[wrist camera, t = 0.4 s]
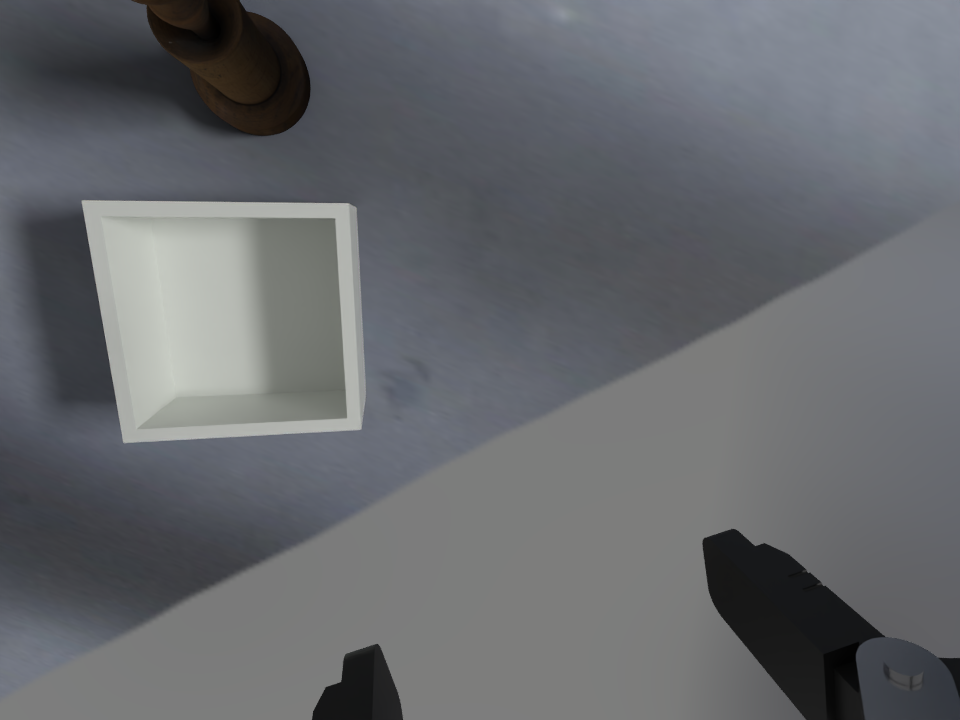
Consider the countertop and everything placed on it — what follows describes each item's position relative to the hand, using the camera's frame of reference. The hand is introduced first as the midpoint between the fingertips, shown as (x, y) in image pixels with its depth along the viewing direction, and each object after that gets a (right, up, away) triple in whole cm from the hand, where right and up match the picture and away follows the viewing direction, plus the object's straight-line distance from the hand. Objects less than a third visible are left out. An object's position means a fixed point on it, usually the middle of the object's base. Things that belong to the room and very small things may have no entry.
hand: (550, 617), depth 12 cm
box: (-17, +10, +24) cm, 31 cm away
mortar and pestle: (-16, +24, +21) cm, 36 cm away
